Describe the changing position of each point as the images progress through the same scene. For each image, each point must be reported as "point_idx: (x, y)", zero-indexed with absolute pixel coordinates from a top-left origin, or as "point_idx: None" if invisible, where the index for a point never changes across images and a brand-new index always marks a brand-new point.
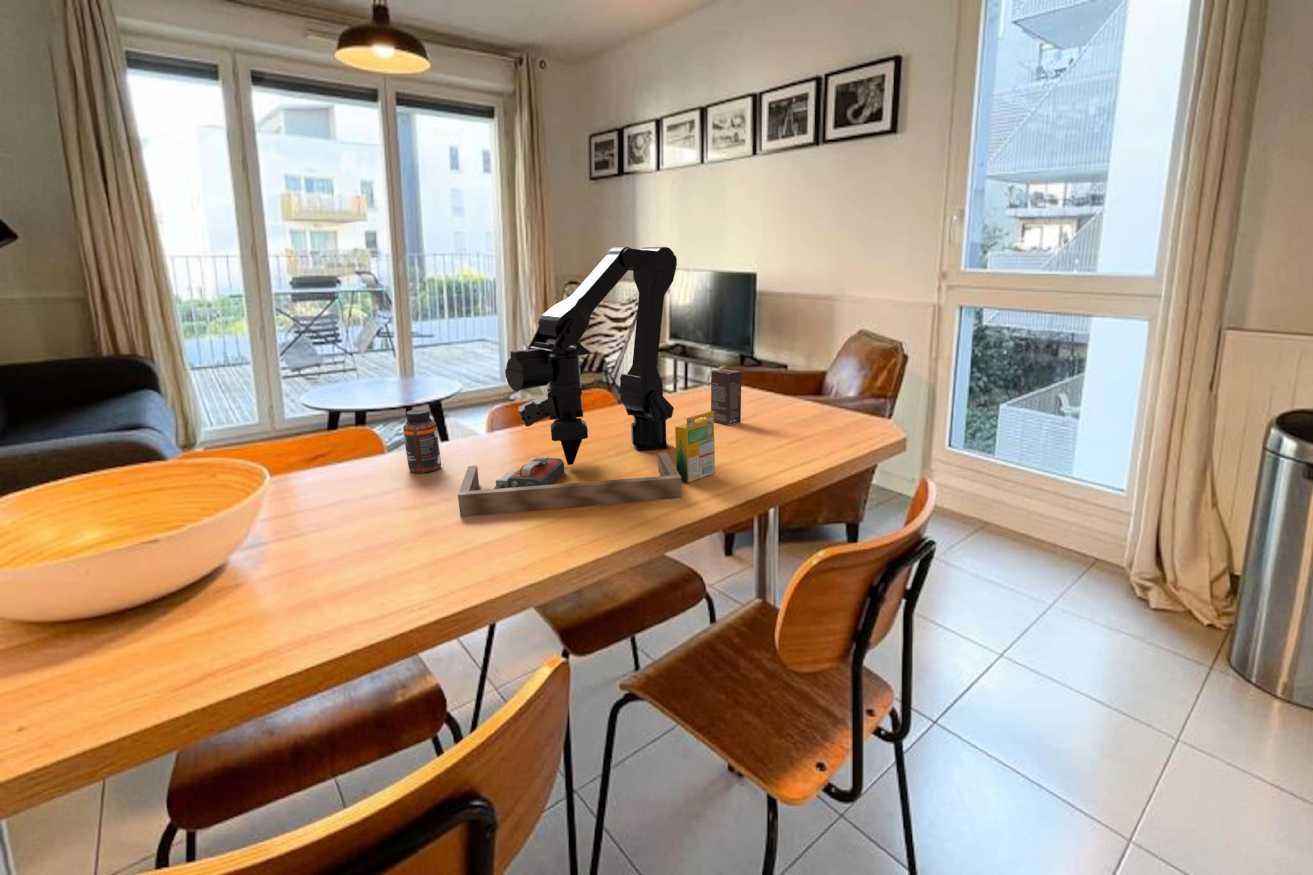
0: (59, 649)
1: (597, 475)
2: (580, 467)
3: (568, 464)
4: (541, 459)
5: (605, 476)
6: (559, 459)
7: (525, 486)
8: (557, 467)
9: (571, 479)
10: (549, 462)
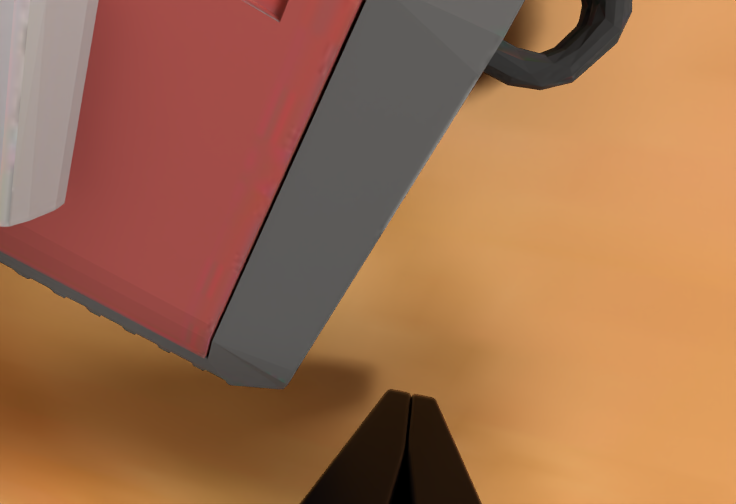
0: None
1: (190, 469)
2: None
3: (384, 395)
4: None
5: (165, 494)
6: (258, 371)
7: None
8: (27, 277)
9: None
10: (105, 222)
